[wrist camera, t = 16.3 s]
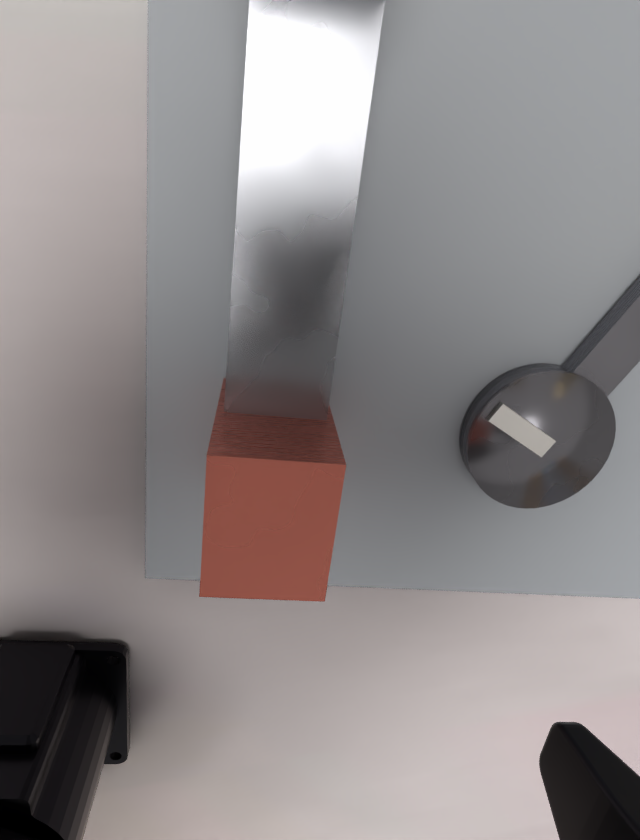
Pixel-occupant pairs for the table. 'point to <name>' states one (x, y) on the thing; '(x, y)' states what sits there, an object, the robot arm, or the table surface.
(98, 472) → the table surface
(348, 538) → the board
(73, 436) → the table surface
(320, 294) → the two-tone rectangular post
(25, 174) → the table surface
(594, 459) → the metal measuring spoon
